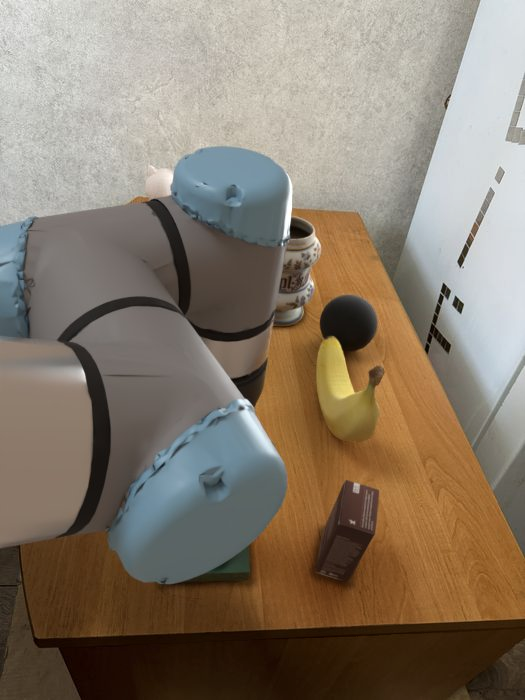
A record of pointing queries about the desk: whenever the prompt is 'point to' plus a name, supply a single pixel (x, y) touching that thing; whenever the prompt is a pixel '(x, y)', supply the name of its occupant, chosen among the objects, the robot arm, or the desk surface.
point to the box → (348, 531)
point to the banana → (345, 395)
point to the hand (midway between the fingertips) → (210, 504)
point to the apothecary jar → (297, 273)
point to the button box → (228, 569)
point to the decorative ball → (349, 322)
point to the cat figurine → (158, 182)
